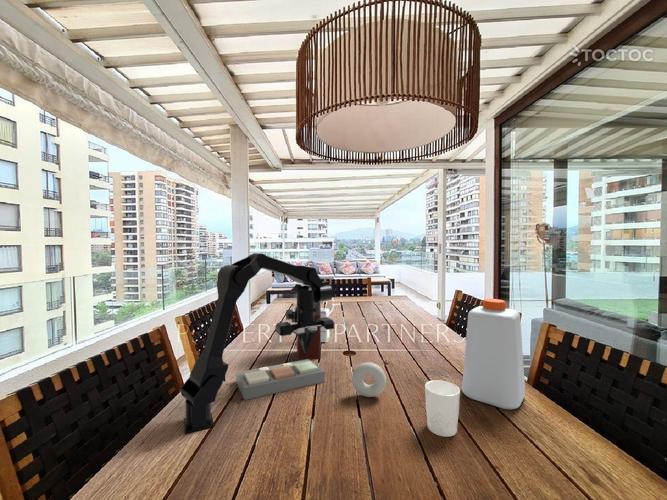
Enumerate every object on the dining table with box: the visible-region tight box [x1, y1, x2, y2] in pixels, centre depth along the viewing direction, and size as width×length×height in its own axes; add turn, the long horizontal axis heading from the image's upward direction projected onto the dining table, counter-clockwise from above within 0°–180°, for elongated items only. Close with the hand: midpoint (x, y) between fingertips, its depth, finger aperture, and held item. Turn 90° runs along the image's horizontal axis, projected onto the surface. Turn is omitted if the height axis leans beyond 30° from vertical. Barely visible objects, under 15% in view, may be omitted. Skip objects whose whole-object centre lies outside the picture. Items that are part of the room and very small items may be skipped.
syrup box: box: [321, 307, 331, 344], centre depth 141 cm, size 6×6×14 cm
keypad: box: [235, 359, 325, 401], centre depth 99 cm, size 13×25×4 cm, turn 117°
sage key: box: [294, 360, 318, 375], centre depth 101 cm, size 6×6×2 cm
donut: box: [351, 361, 387, 398], centre depth 90 cm, size 10×4×10 cm, turn 82°
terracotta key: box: [270, 365, 294, 380], centre depth 97 cm, size 6×6×2 cm
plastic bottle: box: [461, 298, 526, 410], centre depth 90 cm, size 15×15×28 cm
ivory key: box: [245, 370, 269, 385], centre depth 94 cm, size 6×6×2 cm
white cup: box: [424, 379, 461, 438], centre depth 74 cm, size 8×8×10 cm
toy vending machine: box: [296, 285, 322, 361], centre depth 122 cm, size 9×11×28 cm
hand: (305, 352), depth 101 cm, fingers closed
